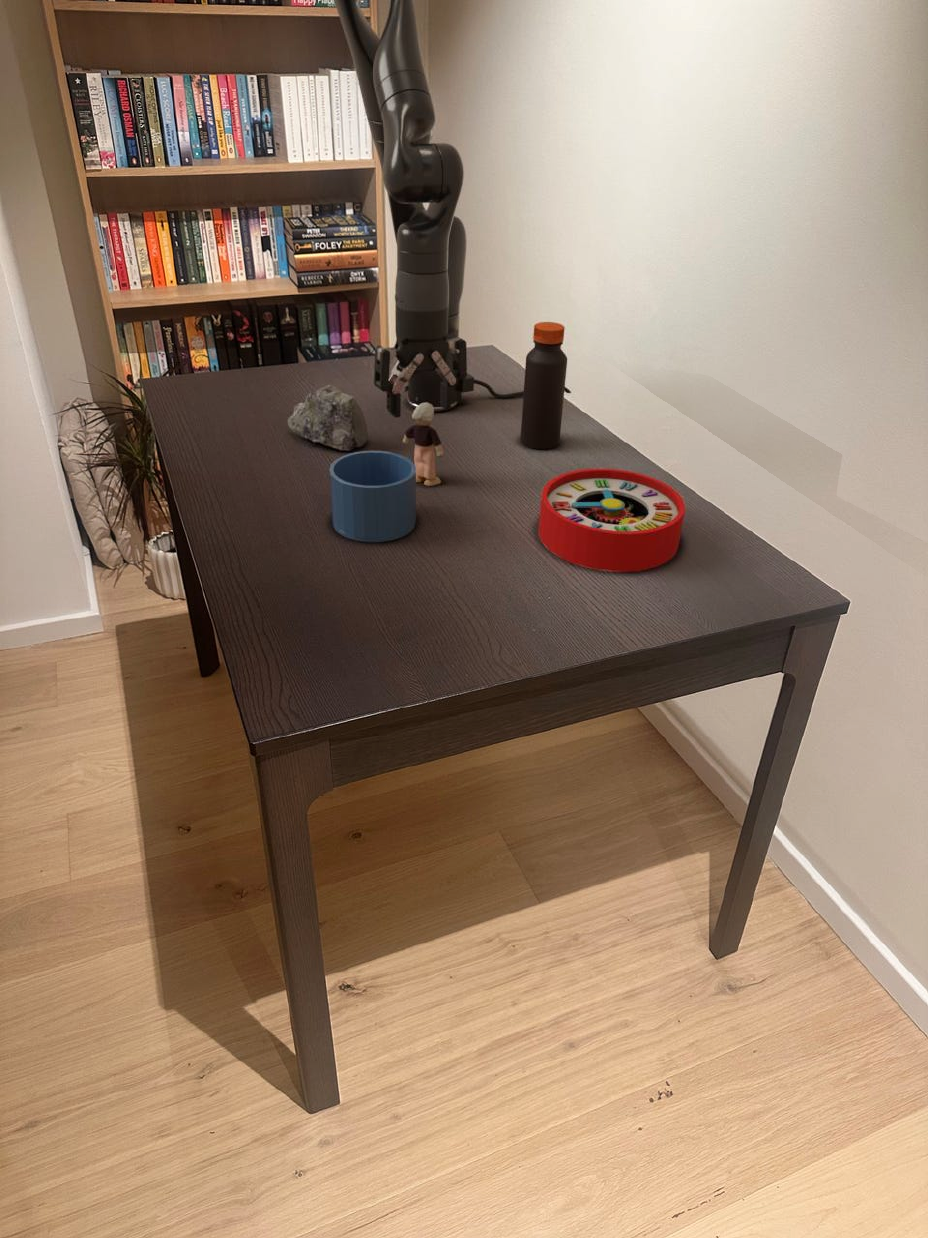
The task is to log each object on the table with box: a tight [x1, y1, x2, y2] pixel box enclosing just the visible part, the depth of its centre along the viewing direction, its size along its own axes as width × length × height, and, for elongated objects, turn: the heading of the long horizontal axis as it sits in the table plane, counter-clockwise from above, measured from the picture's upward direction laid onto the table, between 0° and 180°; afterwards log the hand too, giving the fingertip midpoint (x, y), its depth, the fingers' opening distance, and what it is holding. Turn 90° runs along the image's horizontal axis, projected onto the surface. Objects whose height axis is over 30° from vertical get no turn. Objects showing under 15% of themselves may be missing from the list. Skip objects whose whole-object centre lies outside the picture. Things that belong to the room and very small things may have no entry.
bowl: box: [328, 450, 417, 543], centre depth 130 cm, size 12×12×8 cm
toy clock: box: [538, 468, 686, 573], centre depth 129 cm, size 20×6×20 cm
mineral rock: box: [287, 384, 369, 452], centre depth 153 cm, size 13×11×10 cm
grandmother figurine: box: [402, 403, 445, 487], centre depth 140 cm, size 8×4×13 cm, turn 65°
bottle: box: [519, 321, 568, 450], centre depth 152 cm, size 7×7×20 cm
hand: (420, 411), depth 137 cm, fingers open, 8 cm apart
